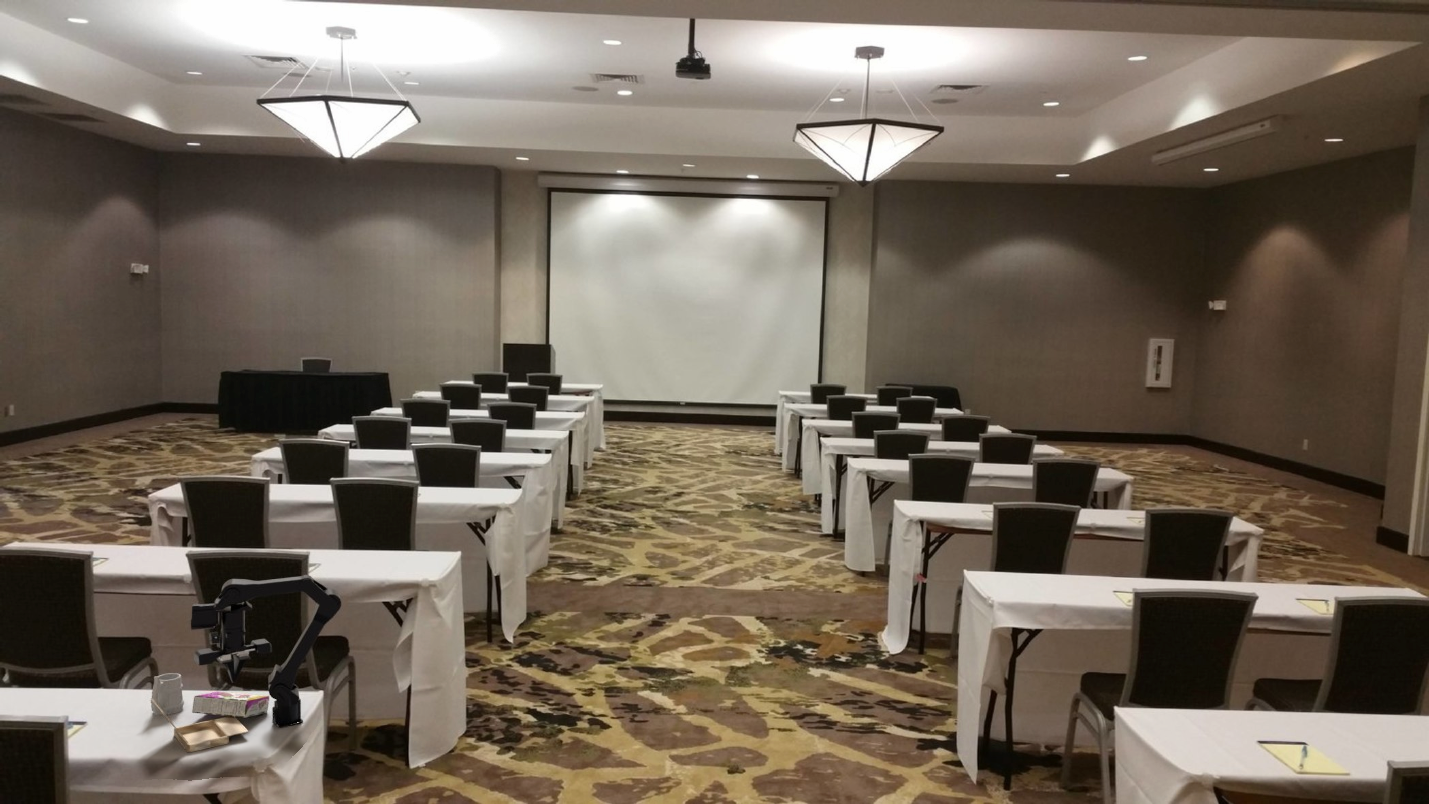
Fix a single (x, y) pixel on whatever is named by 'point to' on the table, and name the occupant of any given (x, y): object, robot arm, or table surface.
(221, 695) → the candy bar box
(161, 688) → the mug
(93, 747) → the table surface
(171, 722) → the flap
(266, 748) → the table surface
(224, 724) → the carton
